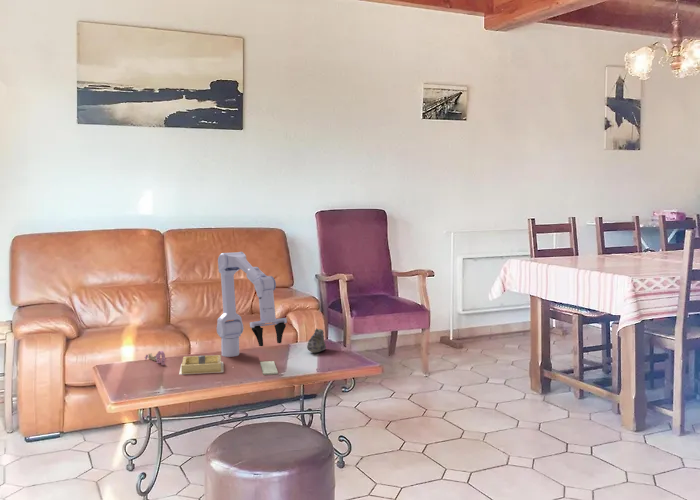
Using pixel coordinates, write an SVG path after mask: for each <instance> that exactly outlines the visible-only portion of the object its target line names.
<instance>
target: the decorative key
mask: <svg viewBox="0 0 700 500" xmlns="http://www.w3.org/2000/svg"><path fill="white" fill-rule="evenodd" d="M144 359H145V361H147V359H149V360H151V361H154V362H155V363H156V364H161V366H165V365H166V363H165V361H166V354H165V351H164V350H159V351H157V353H156V354H155V355H153V354H152V353H148V354H145V357H144Z"/></svg>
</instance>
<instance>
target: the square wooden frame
mask: <svg viewBox="0 0 700 500" xmlns="http://www.w3.org/2000/svg"><path fill="white" fill-rule="evenodd" d="M198 356H199V355H191V356H190V355H189V356H183V358H182V362H181V364H182V366H181V365H180V368H181V367H182V374H181V375H187V374H186V373H201V374H207V373H206V372H221V362H222V354H215V355H214V354H212V355H204V356H205V364H199V357H198ZM221 373H222V372H221Z"/></svg>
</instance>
